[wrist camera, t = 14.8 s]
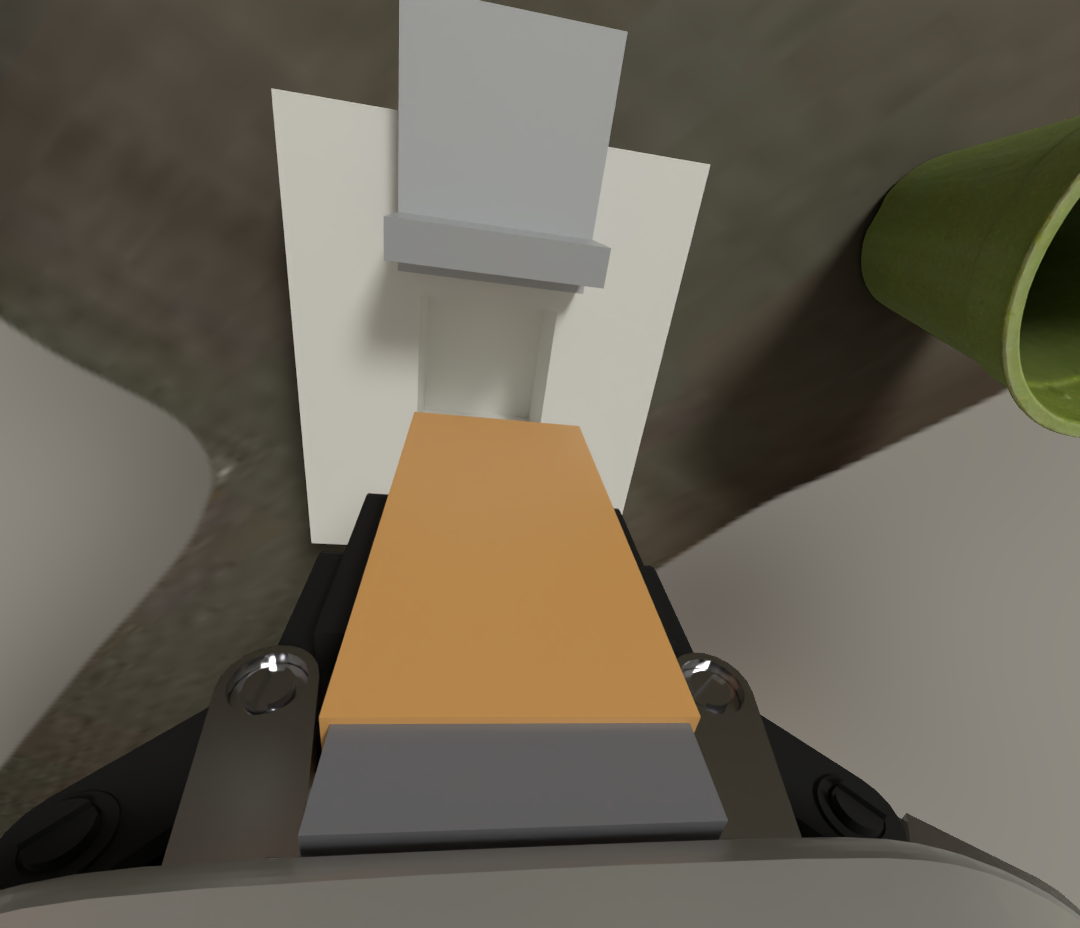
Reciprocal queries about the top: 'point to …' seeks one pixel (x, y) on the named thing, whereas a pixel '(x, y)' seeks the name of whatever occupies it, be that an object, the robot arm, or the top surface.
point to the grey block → (502, 144)
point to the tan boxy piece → (504, 664)
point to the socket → (460, 313)
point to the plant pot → (993, 262)
